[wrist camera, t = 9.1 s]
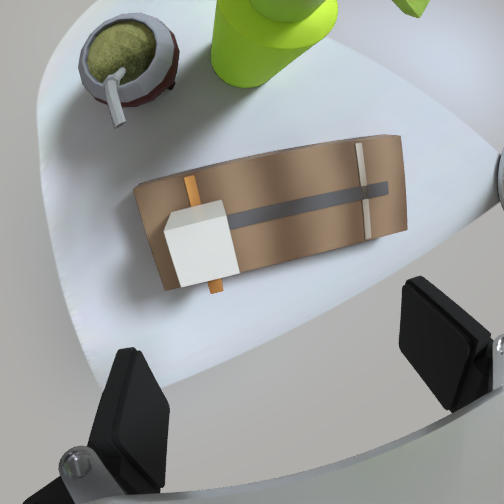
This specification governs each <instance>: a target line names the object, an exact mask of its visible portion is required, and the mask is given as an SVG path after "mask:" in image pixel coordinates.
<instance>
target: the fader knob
mask: <svg viewBox="0 0 504 504" xmlns="http://www.w3.org/2000/svg"><path fill="white" fill-rule="evenodd" d="M164 234H165V237H166V241H167V244H168V247H169V251H170V254H171V257H172V260H173V263H174V267H175V270H176V273H177V276H178V279H179V282H180V285H181V287H185V286H190V285H194V284H198V283H202V282H206V281H210V280H215V279H219V278H223V277H227V276H231V275H235V274H239V273H240V272H239V267H238V263H237V259H236V255H235V251H234V246H233V242H232V238H231V234H230V229H229V225H228V221H227V217H226V213H225V209H224V206H223V202H222V200H218V201H214V202H210V203H206V204H202V205H198V206H194V207H190V208H186V209H182V210H178V211H174V212H171V214H170V216H169V219H168V221H167V224H166V226H165V229H164Z"/></svg>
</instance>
